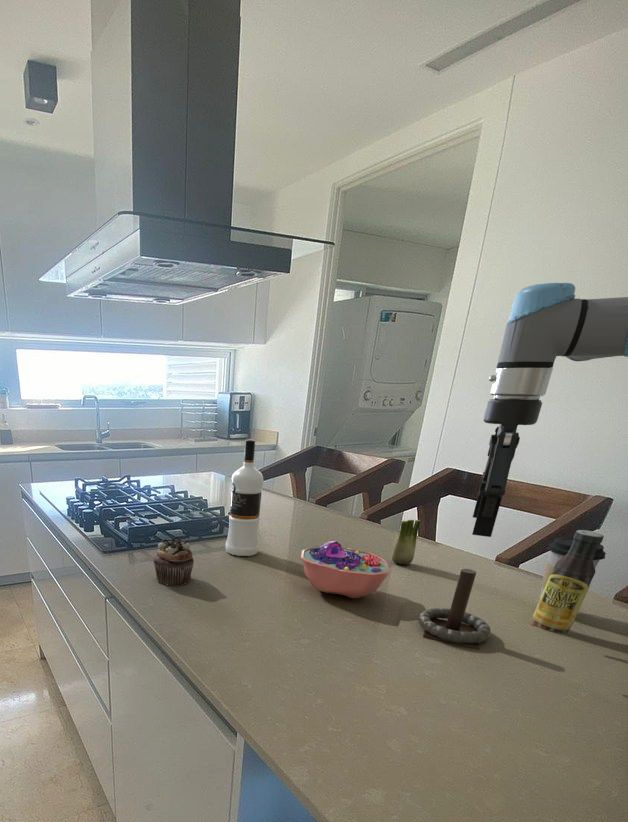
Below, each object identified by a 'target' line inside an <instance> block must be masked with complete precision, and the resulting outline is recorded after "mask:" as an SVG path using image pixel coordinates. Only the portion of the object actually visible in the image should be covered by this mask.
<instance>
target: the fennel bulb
mask: <svg viewBox="0 0 628 822" xmlns="http://www.w3.org/2000/svg"><path fill="white" fill-rule="evenodd" d="M421 521H422V520H420V519H407V520H401V522H400V529H399V533H398V538H397V540H396V542H395V545H394V549H393V552H392V557H391V561H392V562H393V563H394V564H396V565H403V566H405V565H406V566H407V565H410V564H411V563H412V562H413V560H414V557H415V550H416V546H417V544H416V543H417V537H418V533H419V528H420V525H421Z"/></svg>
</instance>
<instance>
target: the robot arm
mask: <svg viewBox="0 0 628 822" xmlns="http://www.w3.org/2000/svg"><path fill="white" fill-rule="evenodd" d="M575 293H576V285H575V284H573V283H571V282H546V283H545V282H544V283H538V284H532V285H528V286H525V287H523V288H522V289H520V290H519V291H518V292H517V293H515V296H514V299H513V302H512V305H511V309H510V313H509V316H508V319H507V321H506V325H505V328H504V329H505V330H504V334H503V338H502V344H501V345H500V350H499V356H498V359H497V364H496V367H495V368H496V369H495V374H491V375H490V376H489V377H488V382H493V383H492V386H491V389H490V395H491V396H493V398H491V399H489V400H488V401H487V403H486V407H485V412H484V415H483V422H484V423H485V424H491V425H499V426H496V428H495V429H494V432H495V433H494V434H491V435H490V438H489V443H488V445H489V447H488V451H487V457H488V458H487V461H486V463H485V464H486V465H485V468H484V471H483V472H482V478H481V480H482V482H480V483H481V484H480V486H479V491H478V495H477V499H476V501H475V502H476V503H475V506H474V510H473V514H472V518H475V522H474V526H473V530H472V536H480V537H488V538H491V537H492V535H493V531H494V527H495V523H496V521H497V517H498V512H499V510H500V506H501V502H502V498H503V496H504V495H505V494H506V486H507V484H508V483H507V482H508V477H509V474H510V469H511V466H512V462H513V460H514V458H515V455H516V450H517V448H518V446H519V444H520V439H521V437H520V433H519V432H517V430H518V426H533V425H535V424H536V423H537V422H538V420H539V416H540V413H541V409H542V406H543V401H542V399H541V397H544V396H545V395H546V394H547V390H548V387H549V383H550V380H551V377H552V373H553V369H554V364H555V361H556V358H557V357H565V358H566V359H569V360H571V361H574V362H586V361H590V360H594V359H595V360H597V359H605V358H613V357H614V358H615V357H624V358H625V357H626V358H628V296H621V297H605V298H587V299H586V298H582V299H581V298H576V294H575Z"/></svg>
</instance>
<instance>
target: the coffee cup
mask: <svg viewBox="0 0 628 822" xmlns="http://www.w3.org/2000/svg"><path fill="white" fill-rule="evenodd" d="M573 540H574V537H569V536H568V537H566V536H563V537H556V538H554V541H553V542H550V543H549V545H548V546H547V550H549V554H548V558H547V560H546V564H545V568H544V571H543V577H542V582H541V589H540V595H539V598H538V602H539V601H540V598H541V596H542V593H543V591H544V588H545V586H546V584H547V581H548V579H549V577H550V575H551V573H552V571H553V569H554V567H555V564H556V563H557V561H559V560H560V559H561V558H562V557H564V556H565V555H566V554H567V553H568V551H569V550H570V548H571V545H572V543H573ZM604 549H605V547H604V545H602V544H601V543H600V544H599V546H598V548H597V550H596V552H595V556H594V558H593V564H594V567H595V569H596V568H597V566H598V564H599V562H600V561H601V560H604V559H606V554H607V553H606V551H604Z"/></svg>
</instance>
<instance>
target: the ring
mask: <svg viewBox="0 0 628 822" xmlns="http://www.w3.org/2000/svg"><path fill="white" fill-rule="evenodd" d="M449 612H450V608H446V607H435V608H427V609H425V610H424V611H422V612H420V613H419V615H418V619H417V622H418V624H419V626H420V627H421V628H422V629H423V631H424V630H425V631H427V632H429V633H430V634H432V635H434V636H436V637H439V638H442V639H444V640H448V641H453V642H457V643H470V644H472V643H479V644H480V643H483V642H485V641H487V640H488V639H489V638H490V637H491V636H492V635H491V634H492V631H491V626H490V625H489V624H488V623H487V622H486V621H484V620H483V619H482V618H480V617H478V616H476V615H474V614H471V613H469V612H466V611H465V614H464V617H463V621H462V624H466V625H470V626H472V627H474V628H475V629H476V630H477V631H476V632H459V631H455V630H450V629H447V628H444V627H441V626H438V625H437V624H435V623H433V622H432V621H431V619H436V618H437V619H443V620H446V619H448V616H449Z"/></svg>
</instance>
